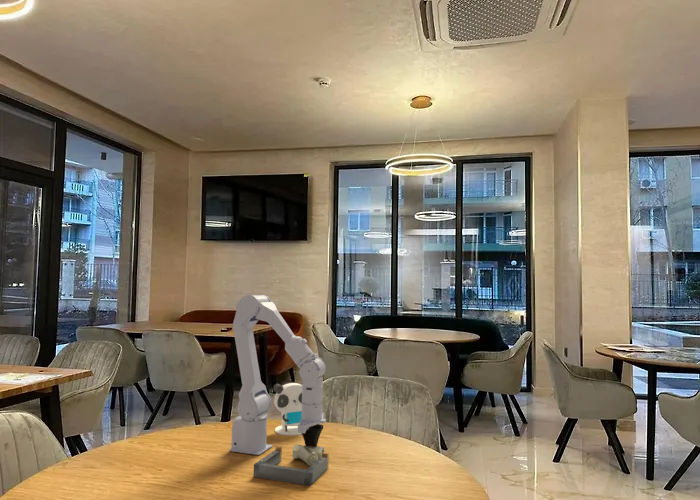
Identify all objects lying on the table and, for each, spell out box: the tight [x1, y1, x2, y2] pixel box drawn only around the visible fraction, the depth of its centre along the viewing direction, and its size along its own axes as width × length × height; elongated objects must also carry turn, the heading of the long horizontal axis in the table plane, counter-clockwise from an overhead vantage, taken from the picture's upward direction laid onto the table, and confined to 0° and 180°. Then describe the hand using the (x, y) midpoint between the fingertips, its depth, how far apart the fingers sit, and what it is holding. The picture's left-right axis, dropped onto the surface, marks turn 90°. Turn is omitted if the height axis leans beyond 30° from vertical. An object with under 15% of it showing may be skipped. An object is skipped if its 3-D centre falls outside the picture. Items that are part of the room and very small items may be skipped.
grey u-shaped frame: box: [253, 445, 330, 487], centre depth 122 cm, size 15×12×4 cm
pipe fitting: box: [292, 443, 326, 467], centre depth 129 cm, size 8×4×7 cm
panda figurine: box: [273, 381, 303, 436], centre depth 158 cm, size 12×11×15 cm
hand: (311, 452), depth 134 cm, fingers closed
